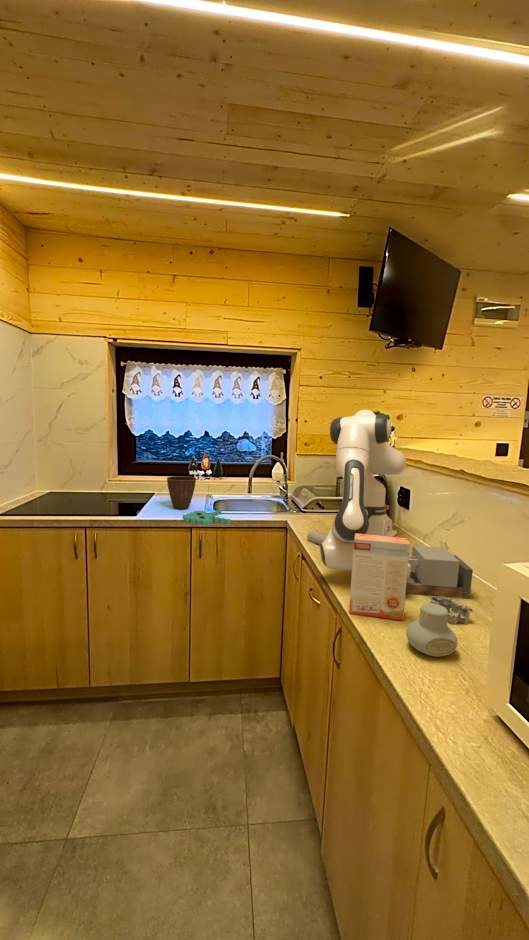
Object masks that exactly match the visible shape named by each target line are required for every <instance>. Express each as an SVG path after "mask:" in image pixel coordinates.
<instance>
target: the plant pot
mask: <svg viewBox="0 0 529 940" xmlns="http://www.w3.org/2000/svg"><path fill="white" fill-rule="evenodd" d="M166 482H167V489H168V494H169V498H170V500H171V504H172V506H173V509H174V510H177V511H178V510H179V511H183V510H184V511H185V510H187V509H189V508H190V505H191V503H192V499H193V497H194V496H193V495H194V493H195V486H196V482H197V478H196V477H194V476H189V475H187V476H185V475H179V476H178V475H175V476H167V477H166Z"/></svg>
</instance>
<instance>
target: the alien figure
mask: <svg viewBox="0 0 529 940" xmlns="http://www.w3.org/2000/svg"><path fill="white" fill-rule="evenodd" d="M219 515H222V510H221V509H216V510H214V511H212V512H209V513H205V511H204V510H194V511H191V512H190V513H189V512H188V513H186V514H182V519H183V521H184V522H185V523H191V524H196V525H202V526H207V525H208V526H210V525H213V522H214V523H216V522H218V523H221V524H224V523H225V524H226V525H231V524H232V519H231V518H225V517H219Z"/></svg>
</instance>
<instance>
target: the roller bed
mask: <svg viewBox="0 0 529 940" xmlns="http://www.w3.org/2000/svg"><path fill="white" fill-rule="evenodd" d="M452 555H453V556H454V557H455V558H456V559H457V560H459V561H460V563H459V572H458V581H457V587H445V586H430V585H422V584H421V582H420V581H419V580H418V578H417V577H416V576H415V575H414V573H413V572H412V571H410V576H408V577H407V582H406V594H405V595H419V596H433V597H434V596H436V597H438V596H440V597H442V596H443V597H444V598H445V597H446V598H447V597H448V598H461V599H468V600H470V597H471V588H472V581H473V580H472V579H473V572H474V569H472V568H471V567H470V566H469V565H467V563H465V562H464V560H462V559H461V558H460V557H459V556H457V555H456V554H452Z"/></svg>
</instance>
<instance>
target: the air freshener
mask: <svg viewBox="0 0 529 940" xmlns="http://www.w3.org/2000/svg"><path fill="white" fill-rule="evenodd" d="M419 610H420V611H419V619H417V620H415V621H413V622H411V623H410V624H408V626H407V627H406V632H405V634H406V638H407V641H408V642H409V644H410V645H411V646H412V648H414V649H416V650H417V651H419V652H420V653H422V654H425V655H427V656H430V657H434V658H438V657H445V656H448V655H450V654H453V652H455V650H456V649H457V647H458V638H457V635H456V633H455V632H454V631H453V630H452V629H451V628H450V626H448V622H447V621H448V610H447V609H446V608H445V607H443V606H441V605H438V604H434V603H430V602H428V603H427V602H425V603H423V604H421V606H420V609H419Z"/></svg>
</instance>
